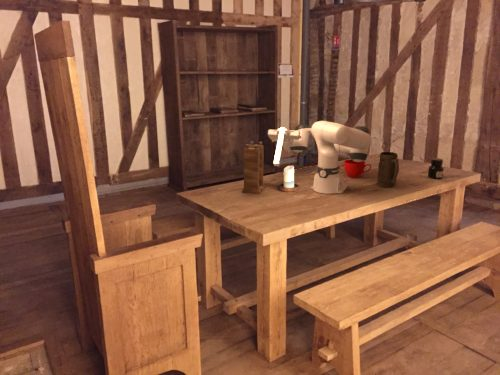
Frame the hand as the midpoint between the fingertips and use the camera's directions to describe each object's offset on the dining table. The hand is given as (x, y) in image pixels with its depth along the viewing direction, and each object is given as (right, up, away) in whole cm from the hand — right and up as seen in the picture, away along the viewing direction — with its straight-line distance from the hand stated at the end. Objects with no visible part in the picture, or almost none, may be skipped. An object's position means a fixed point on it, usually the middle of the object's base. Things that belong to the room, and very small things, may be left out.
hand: (282, 129), depth 268 cm
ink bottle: (+99, -29, +13) cm, 104 cm away
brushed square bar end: (-1, -11, -2) cm, 12 cm away
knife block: (-18, -37, -17) cm, 44 cm away
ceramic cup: (+49, -29, +13) cm, 58 cm away
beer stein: (+63, -35, -8) cm, 72 cm away
